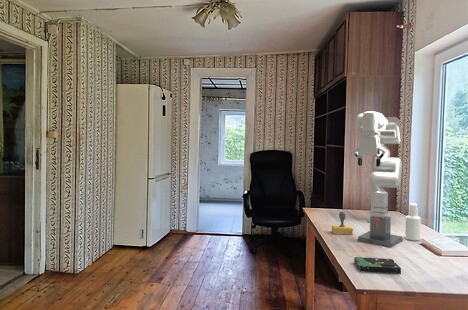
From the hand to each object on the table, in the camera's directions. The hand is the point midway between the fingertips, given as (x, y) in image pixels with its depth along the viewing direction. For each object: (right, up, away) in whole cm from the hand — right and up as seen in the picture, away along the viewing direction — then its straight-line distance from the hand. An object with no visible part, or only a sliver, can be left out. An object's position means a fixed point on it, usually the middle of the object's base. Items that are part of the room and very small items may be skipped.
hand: (368, 166), depth 178 cm
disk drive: (-18, -39, -50) cm, 66 cm away
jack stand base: (0, -37, -13) cm, 39 cm away
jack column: (0, -35, -13) cm, 37 cm away
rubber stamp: (-14, -37, 0) cm, 40 cm away
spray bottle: (+18, -37, -10) cm, 43 cm away
